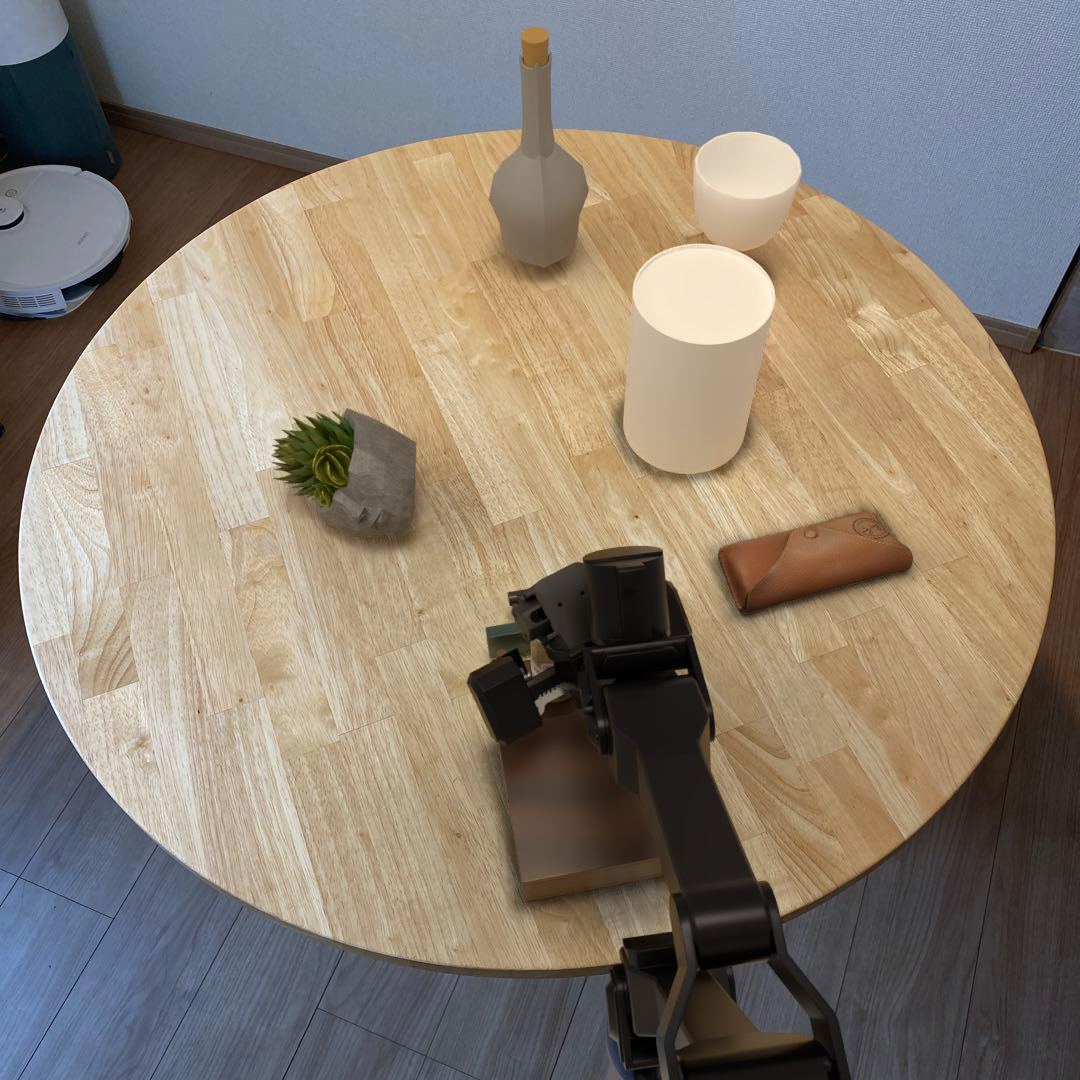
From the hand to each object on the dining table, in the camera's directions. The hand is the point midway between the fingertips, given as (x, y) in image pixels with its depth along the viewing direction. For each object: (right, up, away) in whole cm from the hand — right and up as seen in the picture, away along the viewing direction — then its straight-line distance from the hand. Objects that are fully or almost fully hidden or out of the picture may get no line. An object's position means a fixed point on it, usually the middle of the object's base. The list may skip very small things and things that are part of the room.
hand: (547, 637), depth 93 cm
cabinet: (+3, -16, 0) cm, 16 cm away
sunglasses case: (+27, +6, +14) cm, 31 cm away
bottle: (-1, +43, +39) cm, 58 cm away
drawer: (+1, -4, +6) cm, 8 cm away
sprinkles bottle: (+1, -5, +5) cm, 7 cm away
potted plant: (-20, +12, +19) cm, 30 cm away
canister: (+15, +21, +24) cm, 36 cm away
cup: (+22, +40, +36) cm, 59 cm away
